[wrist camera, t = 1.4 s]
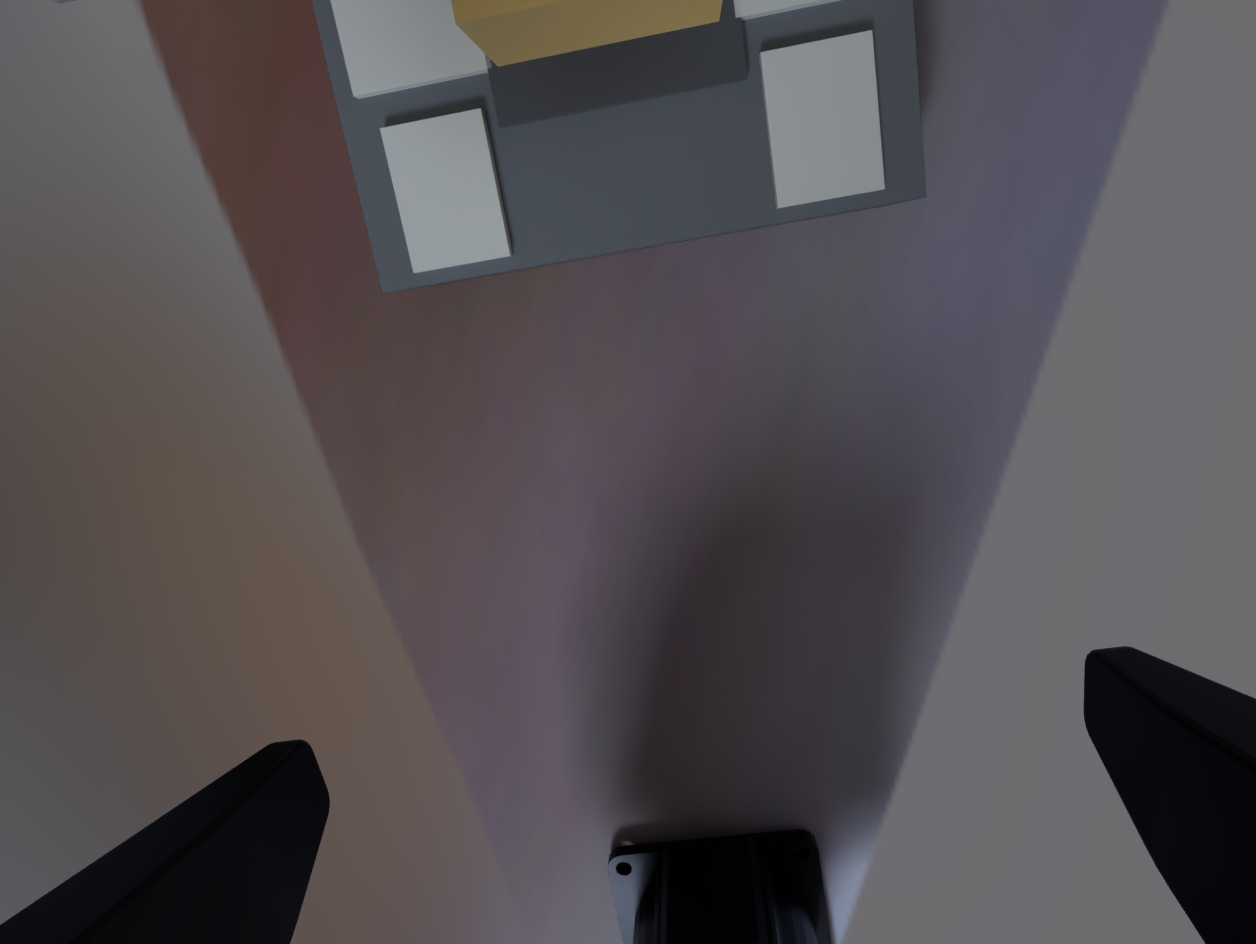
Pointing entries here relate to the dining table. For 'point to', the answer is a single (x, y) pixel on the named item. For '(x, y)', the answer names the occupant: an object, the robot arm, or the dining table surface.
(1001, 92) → the dining table surface
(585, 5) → the key
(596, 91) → the keypad
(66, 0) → the lighter
